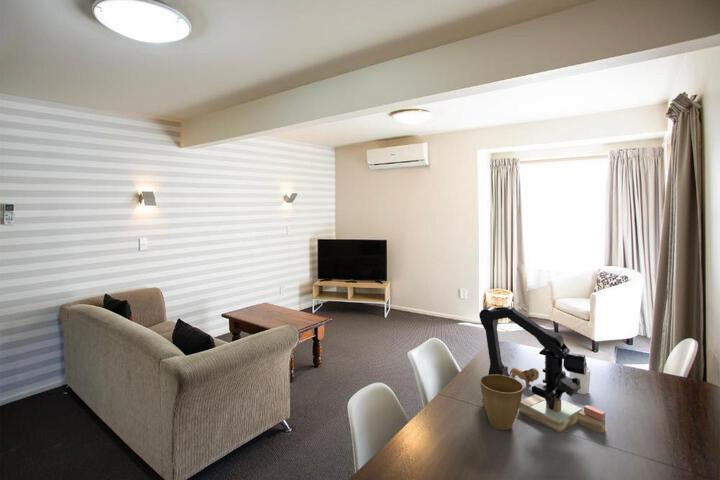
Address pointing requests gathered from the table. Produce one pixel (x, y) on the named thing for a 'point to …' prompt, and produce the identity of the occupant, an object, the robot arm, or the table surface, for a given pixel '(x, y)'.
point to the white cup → (582, 381)
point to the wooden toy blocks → (561, 426)
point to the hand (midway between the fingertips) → (553, 408)
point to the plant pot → (501, 399)
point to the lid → (556, 410)
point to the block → (594, 412)
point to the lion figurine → (525, 375)
